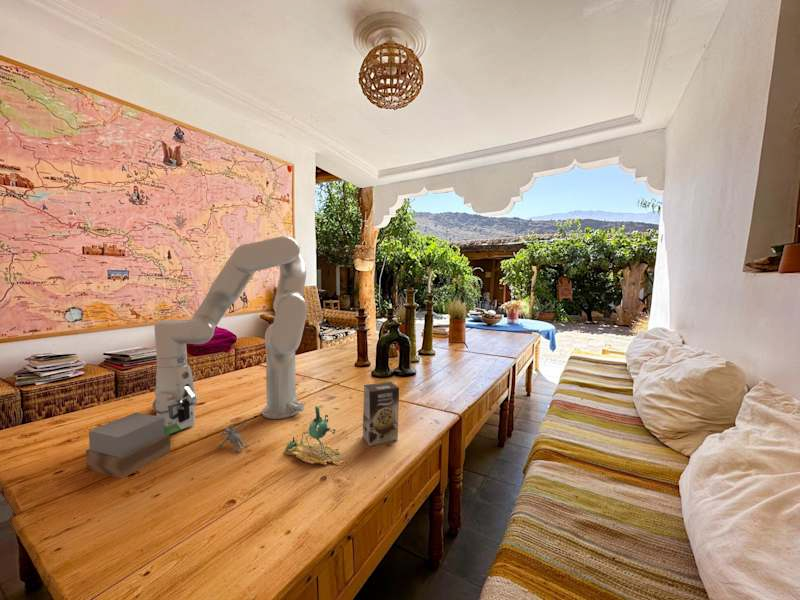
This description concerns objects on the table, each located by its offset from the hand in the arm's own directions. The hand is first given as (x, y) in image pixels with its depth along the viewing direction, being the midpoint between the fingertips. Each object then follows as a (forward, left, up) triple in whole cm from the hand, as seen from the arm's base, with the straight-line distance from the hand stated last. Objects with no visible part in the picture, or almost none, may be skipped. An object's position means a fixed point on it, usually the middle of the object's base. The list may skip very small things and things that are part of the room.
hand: (176, 418), depth 100 cm
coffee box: (-61, -16, -4) cm, 63 cm away
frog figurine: (-47, -2, -4) cm, 47 cm away
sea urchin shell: (+14, -12, -4) cm, 19 cm away
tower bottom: (-4, +16, -4) cm, 16 cm away
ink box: (0, 0, -3) cm, 3 cm away
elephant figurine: (-24, +1, -4) cm, 24 cm away
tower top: (-3, +16, +1) cm, 16 cm away
